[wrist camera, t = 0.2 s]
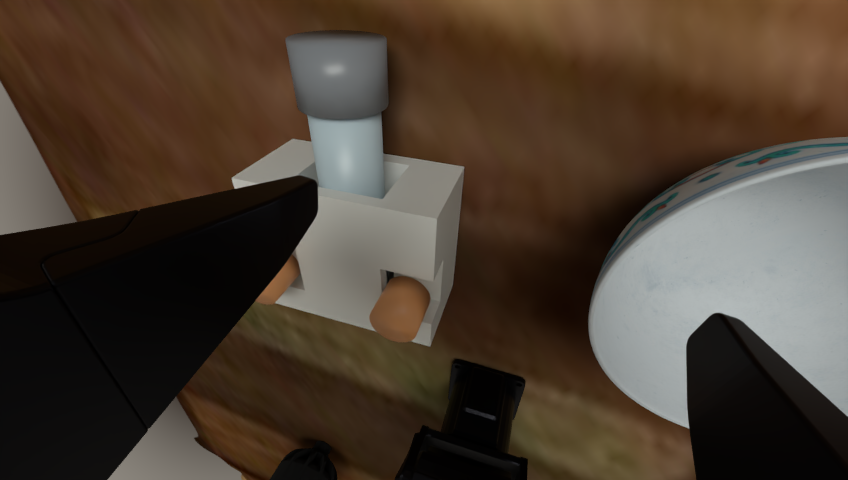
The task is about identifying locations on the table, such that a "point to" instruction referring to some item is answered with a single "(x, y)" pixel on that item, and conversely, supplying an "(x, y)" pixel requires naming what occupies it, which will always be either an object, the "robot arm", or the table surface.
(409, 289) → the plunger
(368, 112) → the cartridge
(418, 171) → the housing
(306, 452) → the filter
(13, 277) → the robot arm
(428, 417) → the table surface
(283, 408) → the table surface
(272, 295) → the plunger
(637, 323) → the chinaware
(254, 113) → the table surface
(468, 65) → the table surface
